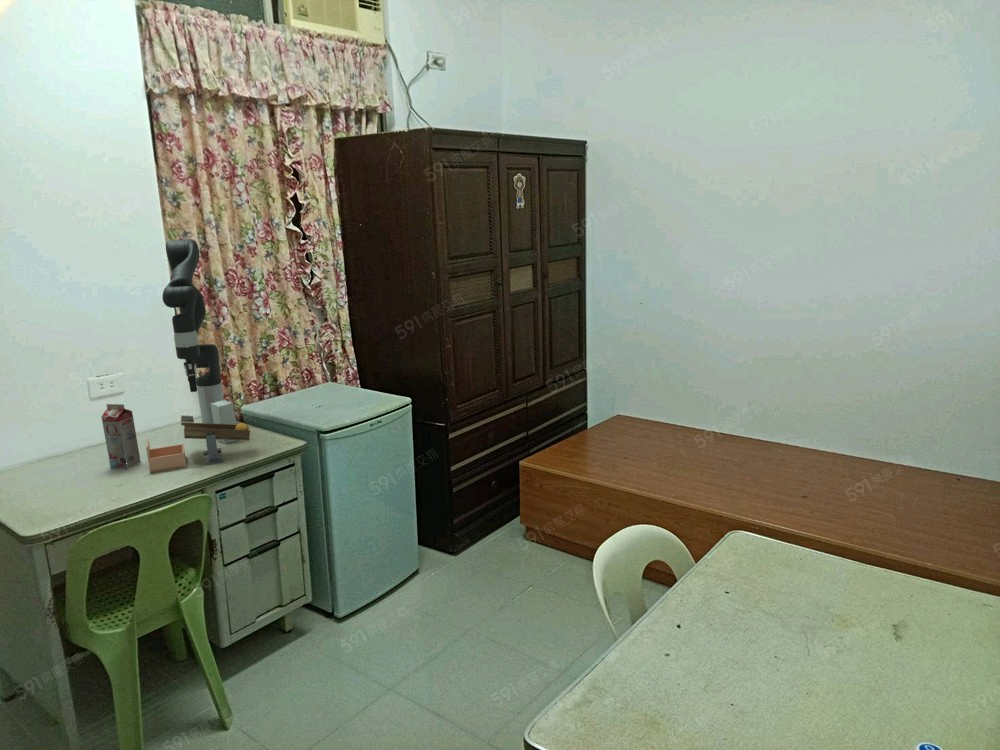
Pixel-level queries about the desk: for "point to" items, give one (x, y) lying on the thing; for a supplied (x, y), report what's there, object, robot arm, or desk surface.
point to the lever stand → (212, 450)
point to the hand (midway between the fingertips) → (193, 388)
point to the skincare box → (223, 415)
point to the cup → (166, 457)
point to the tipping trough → (212, 430)
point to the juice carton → (120, 436)
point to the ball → (241, 427)
